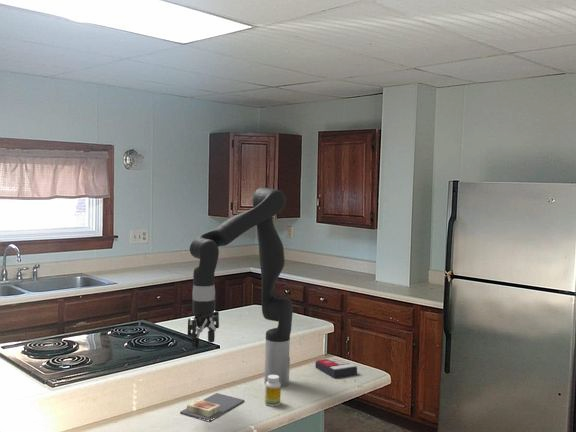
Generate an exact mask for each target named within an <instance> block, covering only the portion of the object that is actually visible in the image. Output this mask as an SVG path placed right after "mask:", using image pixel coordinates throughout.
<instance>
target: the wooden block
mask: <svg viewBox="0 0 576 432" xmlns="http://www.w3.org/2000/svg"><path fill="white" fill-rule="evenodd" d="M203 400H204V399H197V400H194V401H193V402H191V403H189V404H187V405H186V406H187V407H186V408H187V411H189V412H193V413H196V414H200V415H203V416H207V417H210V416H212V415H214V414H216V413H217V412H219V411H220V405H218V404H215V403H211V402H207V401H203Z"/></svg>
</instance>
